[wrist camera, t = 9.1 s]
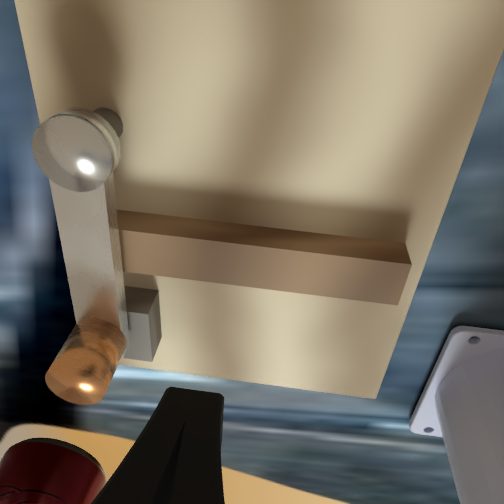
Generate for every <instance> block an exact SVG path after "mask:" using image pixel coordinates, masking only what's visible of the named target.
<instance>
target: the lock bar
mask: <svg viewBox="0 0 504 504" xmlns="http://www.w3.org/2000/svg"><path fill="white" fill-rule="evenodd" d="M32 150H33V154H34V157H35V160H36V162H37V164H38V166H39V167H40V169H41V170H42V172H43V173H44V174H45V175H46V176H47V177H48V178H49V181H50V186H51V192H52V197H53V202H54V207H55V213H56V218H57V223H58V228H59V234H60V239H61V244H62V249H63V255H64V260H65V265H66V271H67V276H68V281H69V286H70V292H71V297H72V302H73V307H74V313H75V318H76V323H77V324H76V325H75V327H74V329H73V330H72V332H71V334H70V335H69V337H68V339H67V340H66V342H65V343H64V345H63V347H62V348H61V350H60V352H59V353H58V355H57V357H56V358H55V360H54V362H53V363H52V365H51V366H50V368H49V370H48V371H47V373H46V376H45V380H46V384H47V386H48V387H49V389H50V390H51V391H52V392H53V393H54V394H56V395H57V396H58V397H60V398H62V399H64V400H66V401H68V402H71V403H75V404H81V405H90V404H95V403H97V402H99V401H100V400H102V398H103V397H104V395H105V392H106V390H107V388H108V386H109V384H110V381H111V379H112V377H113V375H114V373H115V370H116V368H117V366H118V364H119V362H120V359H121V358H124V356H125V354H126V351H127V349H128V347H129V345H130V340H129V330H128V320H127V309H126V299H125V289H124V279H123V268H122V258H121V248H120V238H119V227H118V217H117V207H116V197H115V186H114V176H113V171H114V170H115V169H116V168H117V166H118V164H119V162H120V158H121V145H120V141H119V138H118V136H117V134H116V132H115V130H114V129H113V127H112V126H111V125H110V124H109V123H108V122H107V121H106V120H105V119H104V118H103V117H102V116H100V115H99V114H97V113H96V112H94V111H91V110H89V109H86V108H81V107H69V108H65V109H63V110H61V111H59V112H57V113H56V114H55V115H53V116H52V117H50V118H49V119H47V120H46V121H44V122H43V123H42V124H40V125H39V126H38V128H37V129H36V131H35V133H34V135H33V139H32Z"/></svg>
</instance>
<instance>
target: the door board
mask: <svg viewBox="0 0 504 504" xmlns="http://www.w3.org/2000/svg"><path fill="white" fill-rule="evenodd" d="M15 5H16V10H17V15H18V20H19V24H20V29H21V34H22V39H23V44H24V48H25V53H26V58H27V63H28V68H29V72H30V77H31V82H32V87H33V92H34V96H35V101H36V106H37V111H38V116H39V120H40V124H42V123H43V122H44V121H46V120H47V119H49V118H50V117H52V116H53V115H55V114H56V113H57V112H59V111H61V110H63V109H65V108H69V107H81V108H86V109H89V110H91V111H94V112H96V113H97V114H99V115H100V116H102V117H103V118H104V119H105V120H106V121H107V122H108V123H109V124H110V125H111V126H112V127H113V129H114V130H115V132H116V134H117V136H118V138H119V141H120V145H121V158H120V162H119V164H118V166H117V168H116V169H115V170H114V171H113V176H114V186H115V197H116V207H117V217H118V227H119V238H120V248H121V258H122V268H123V279H124V289H125V299H126V309H127V320H128V330H129V340H130V345H129V347H128V349H127V351H126V354H125V356H124V358H121V359H120V362H119V365H126V366H134V367H141V368H149V369H156V370H163V371H171V372H178V373H186V374H193V375H201V376H208V377H216V378H223V379H230V380H238V381H245V382H253V383H260V384H268V385H275V386H283V387H290V388H297V389H305V390H312V391H320V392H327V393H335V394H342V395H349V396H357V397H364V398H372V399H376V397H377V394H378V391H379V388H380V386H381V383H382V380H383V377H384V375H385V372H386V369H387V366H388V364H389V361H390V358H391V356H392V353H393V350H394V347H395V345H396V342H397V339H398V336H399V334H400V331H401V328H402V325H403V323H404V320H405V317H406V315H407V312H408V309H409V306H410V304H411V301H412V298H413V295H414V293H415V290H416V287H417V284H418V282H419V279H420V276H421V274H422V271H423V268H424V265H425V263H426V260H427V257H428V254H429V252H430V249H431V246H432V243H433V241H434V238H435V235H436V233H437V230H438V227H439V224H440V222H441V219H442V216H443V213H444V211H445V208H446V205H447V203H448V200H449V197H450V194H451V192H452V189H453V186H454V183H455V181H456V178H457V175H458V172H459V170H460V167H461V164H462V162H463V159H464V156H465V153H466V151H467V148H468V145H469V142H470V140H471V137H472V134H473V131H474V129H475V126H476V123H477V121H478V118H479V115H480V112H481V110H482V107H483V104H484V101H485V99H486V96H487V93H488V90H489V88H490V85H491V82H492V80H493V77H494V74H495V71H496V69H497V66H498V63H499V60H500V58H501V55H502V52H503V49H504V0H15Z"/></svg>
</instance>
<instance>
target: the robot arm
mask: <svg viewBox="0 0 504 504" xmlns="http://www.w3.org/2000/svg"><path fill="white" fill-rule="evenodd" d="M473 336H476V337H474V338H471V337H473ZM223 409H224V397H223V396H222V395H221V394H220V393H212V392H205V391H198V390H190V389H183V388H176V387H169V388H168V389H166V391H165V393H164V395H163V397H162V399H161V400H160V402H159V404H158V406H157V408H156V409H155V411H154V413H153V415H152V416H151V418H150V420H149V421H148V423H147V424H146V426H145V428H144V429H143V431H142V432H141V434H140V435H139V437H138V439H137V440H136V442H135V443H134V445H133V446H132V448H131V449H130V450H129V452H128V454H127V455H126V456H125V458H124V459H123V461H122V462H121V464H120V465H119V467H118V468H117V469H116V471H115V472H114V474H113V475H112V476H111V478H110V479H109V481H108V482H107V483H106V484H105V486H104V487H103V488H102V490H101V491H100V492H99V493H98V495H97V496H96V497H95V499H94V500H93V501H92V503H91V504H225V503H224V493H223V481H222V469H221V442H222V428H223ZM409 427H410V430H411V431H412V432H414V433H417V434H424V435H431V436H438V437H443V440H444V443H445V447H446V451H447V455H448V459H449V462H450V466H451V470H452V474H453V478H454V481H455V485H456V489H457V493H458V497H459V500H460V504H504V331H502V330H494V329H486V328H478V327H470V326H458V327H455V328H454V329H452V330H451V332H450V333H449V336H448V338H447V340H446V342H445V344H444V347H443V349H442V351H441V353H440V355H439V358H438V360H437V362H436V364H435V366H434V369H433V371H432V373H431V375H430V377H429V379H428V382H427V384H426V386H425V388H424V390H423V393H422V395H421V397H420V399H419V401H418V404H417V406H416V408H415V410H414V412H413V414H412V417H411V419H410V421H409Z"/></svg>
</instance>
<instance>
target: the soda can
mask: <svg viewBox="0 0 504 504" xmlns="http://www.w3.org/2000/svg"><path fill="white" fill-rule="evenodd" d="M105 484H106V479H105V474H104V472H103V469H102V467H101V465H100V464H99V462H98V461H97V460H96V459H95V458H94V457H93V456H92V455H91V454H89V453H88V452H86V451H85V450H83V449H81V448H79V447H77V446H75V445H73V444H70V443H68V442H64V441H61V440H57V439H51V438H32V439H27V440H24V441H21V442H19V443H17V444H15V445H13V446H11V447H10V448H9V449H8V450H7V451H6V453H5V454H4V456H3V458H2V459H1V461H0V504H91V503H92V501H93V500H94V499H95V497H96V496H97V495H98V493H99V492H100V491H101V490H102V488H103V487H104V486H105Z"/></svg>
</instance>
